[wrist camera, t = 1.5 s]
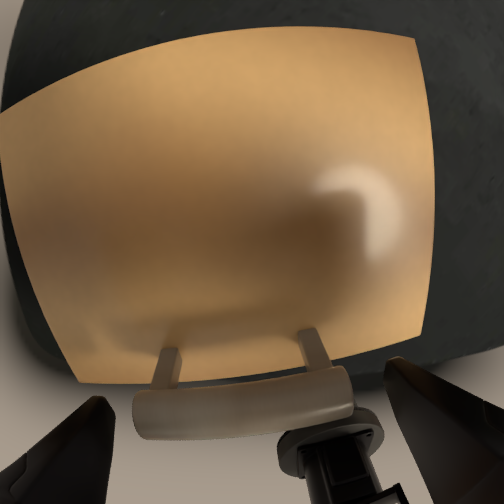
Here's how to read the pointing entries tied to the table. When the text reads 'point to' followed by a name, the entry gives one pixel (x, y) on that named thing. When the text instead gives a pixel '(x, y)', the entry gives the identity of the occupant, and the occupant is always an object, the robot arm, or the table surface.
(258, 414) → the case lid
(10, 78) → the table surface
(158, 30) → the table surface
